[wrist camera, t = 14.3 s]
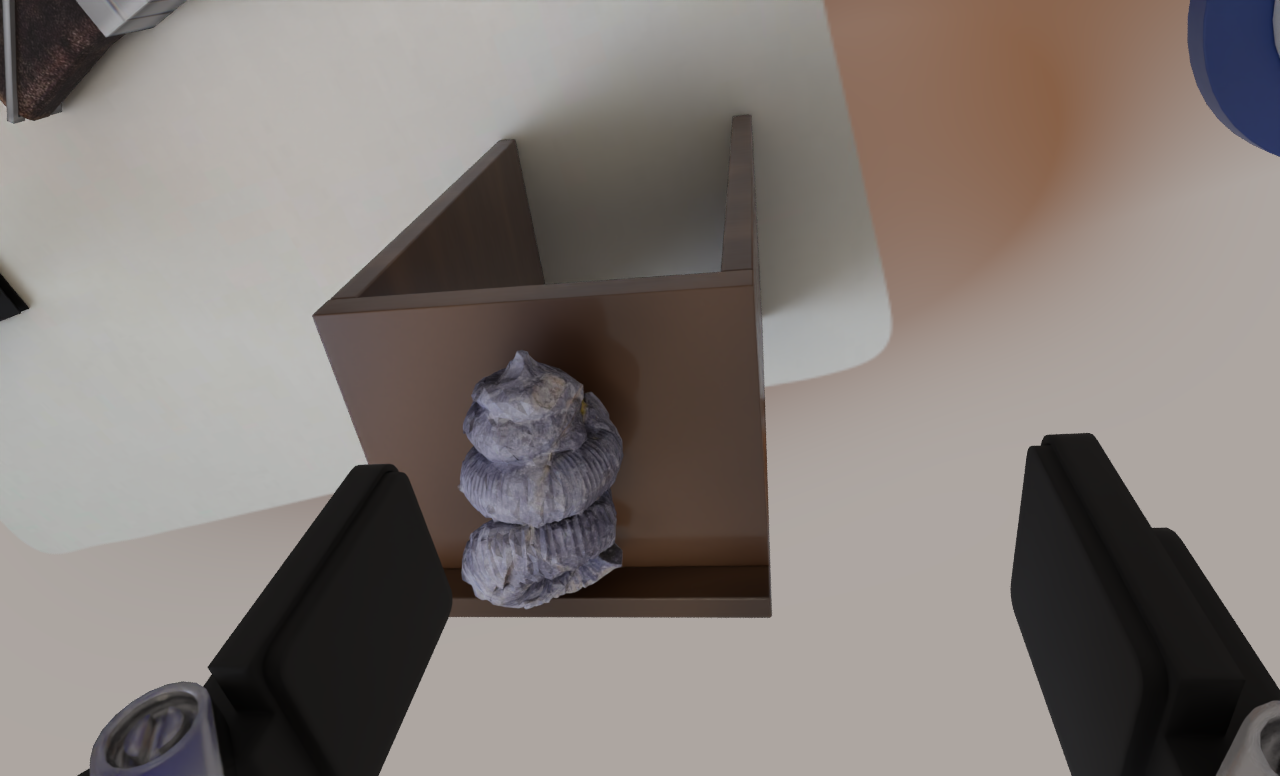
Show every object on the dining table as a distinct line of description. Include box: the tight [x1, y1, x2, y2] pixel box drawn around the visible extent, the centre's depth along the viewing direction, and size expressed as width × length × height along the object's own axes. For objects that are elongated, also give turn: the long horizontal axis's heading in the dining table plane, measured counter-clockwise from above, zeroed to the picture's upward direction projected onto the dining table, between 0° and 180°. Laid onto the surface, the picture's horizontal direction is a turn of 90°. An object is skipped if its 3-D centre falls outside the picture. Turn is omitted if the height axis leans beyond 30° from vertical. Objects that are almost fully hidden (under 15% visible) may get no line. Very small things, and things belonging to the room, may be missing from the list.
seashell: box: [458, 350, 624, 609], centre depth 24 cm, size 5×5×10 cm
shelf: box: [312, 115, 772, 618], centre depth 35 cm, size 14×12×24 cm
